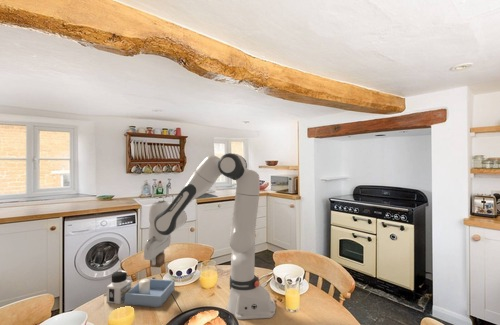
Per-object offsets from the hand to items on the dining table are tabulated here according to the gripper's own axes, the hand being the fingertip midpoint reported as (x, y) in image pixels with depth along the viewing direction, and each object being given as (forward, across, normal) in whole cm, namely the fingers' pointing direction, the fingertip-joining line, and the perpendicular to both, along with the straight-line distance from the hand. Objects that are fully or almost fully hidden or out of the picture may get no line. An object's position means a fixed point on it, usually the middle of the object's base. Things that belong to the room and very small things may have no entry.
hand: (157, 261), depth 120 cm
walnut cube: (+2, 0, 0) cm, 2 cm away
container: (+18, -4, +18) cm, 26 cm away
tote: (+18, 0, +3) cm, 18 cm away
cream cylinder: (+17, 0, +7) cm, 18 cm away
